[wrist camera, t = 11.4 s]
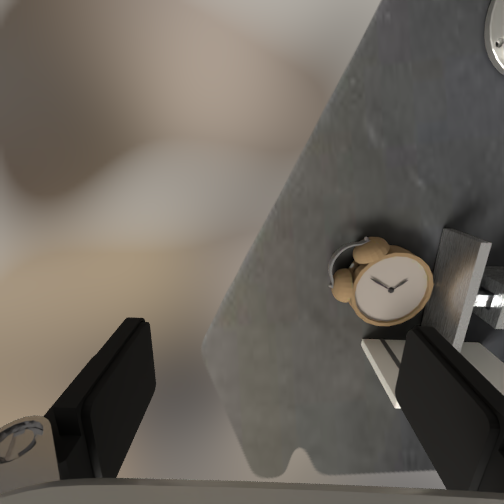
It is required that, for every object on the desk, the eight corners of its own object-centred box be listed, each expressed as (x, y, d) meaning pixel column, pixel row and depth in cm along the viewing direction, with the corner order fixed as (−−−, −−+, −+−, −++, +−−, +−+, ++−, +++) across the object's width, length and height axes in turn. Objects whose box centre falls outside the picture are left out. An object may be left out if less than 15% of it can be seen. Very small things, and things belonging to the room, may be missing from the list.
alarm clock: (397, 339, 42) (316, 299, 37) (379, 318, 46) (305, 280, 42) (452, 278, 39) (372, 226, 34) (427, 262, 43) (353, 215, 39)
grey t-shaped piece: (443, 228, 39) (508, 253, 29) (527, 230, 39) (622, 255, 29) (418, 337, 45) (465, 391, 34) (491, 340, 44) (560, 394, 34)
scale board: (362, 337, 45) (397, 398, 34) (479, 341, 45) (554, 404, 33) (361, 345, 46) (395, 408, 34) (476, 348, 45) (550, 413, 34)
